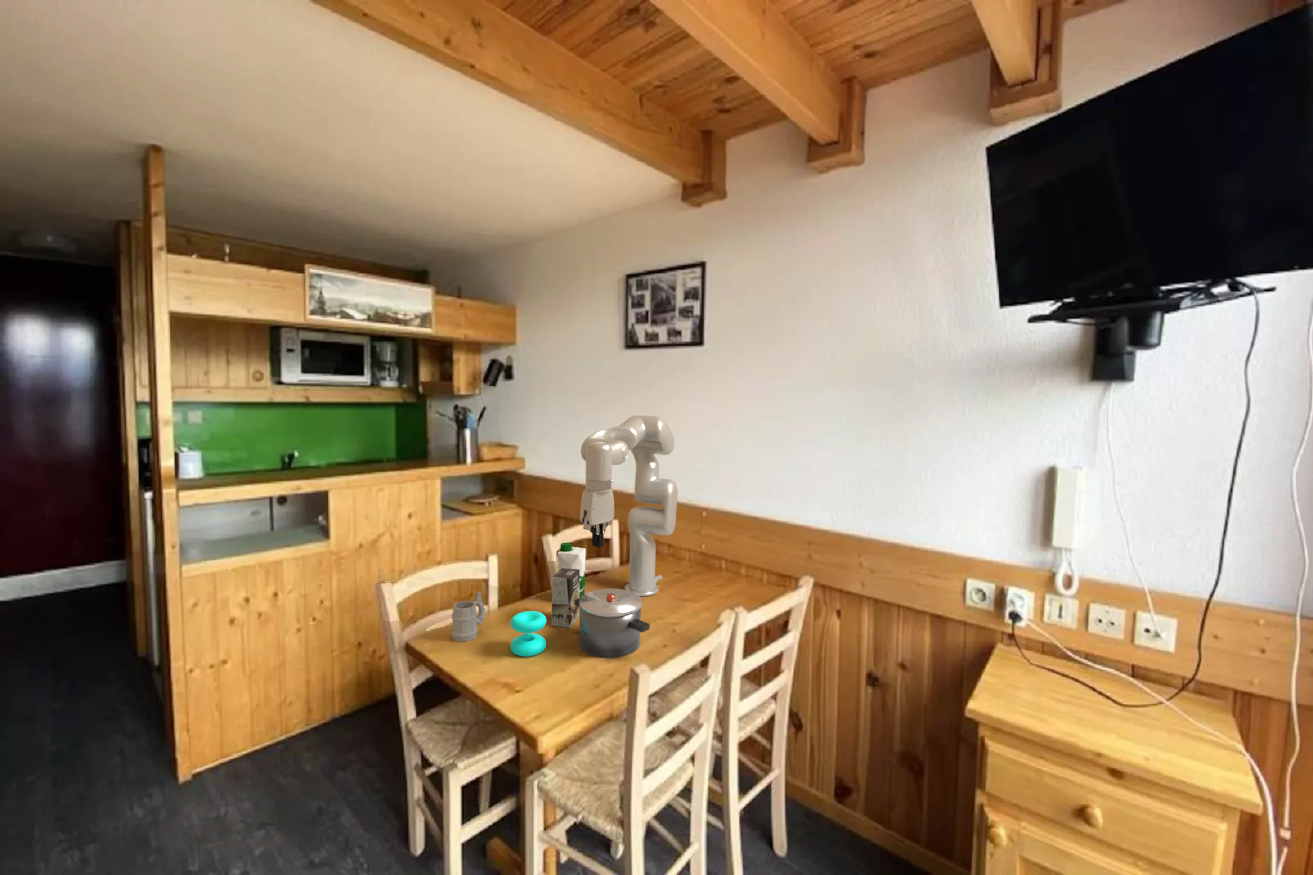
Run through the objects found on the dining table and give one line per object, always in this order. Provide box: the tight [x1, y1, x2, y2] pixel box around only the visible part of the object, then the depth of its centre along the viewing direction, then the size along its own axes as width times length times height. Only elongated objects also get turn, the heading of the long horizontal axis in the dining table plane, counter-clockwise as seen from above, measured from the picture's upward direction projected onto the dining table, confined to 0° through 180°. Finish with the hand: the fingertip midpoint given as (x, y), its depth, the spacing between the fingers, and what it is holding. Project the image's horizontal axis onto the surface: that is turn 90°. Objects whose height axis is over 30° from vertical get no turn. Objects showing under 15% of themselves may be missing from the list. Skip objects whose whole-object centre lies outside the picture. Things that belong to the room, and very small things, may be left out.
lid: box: [579, 588, 643, 617], centre depth 165 cm, size 18×18×3 cm
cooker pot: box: [575, 598, 651, 659], centre depth 166 cm, size 18×28×12 cm, turn 50°
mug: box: [450, 590, 486, 642], centre depth 169 cm, size 8×12×12 cm, turn 152°
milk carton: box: [557, 542, 587, 598], centre depth 197 cm, size 9×9×20 cm
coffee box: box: [551, 568, 580, 628], centre depth 180 cm, size 9×6×16 cm
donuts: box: [510, 610, 547, 657], centre depth 160 cm, size 10×10×10 cm
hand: (597, 546), depth 165 cm, fingers closed
